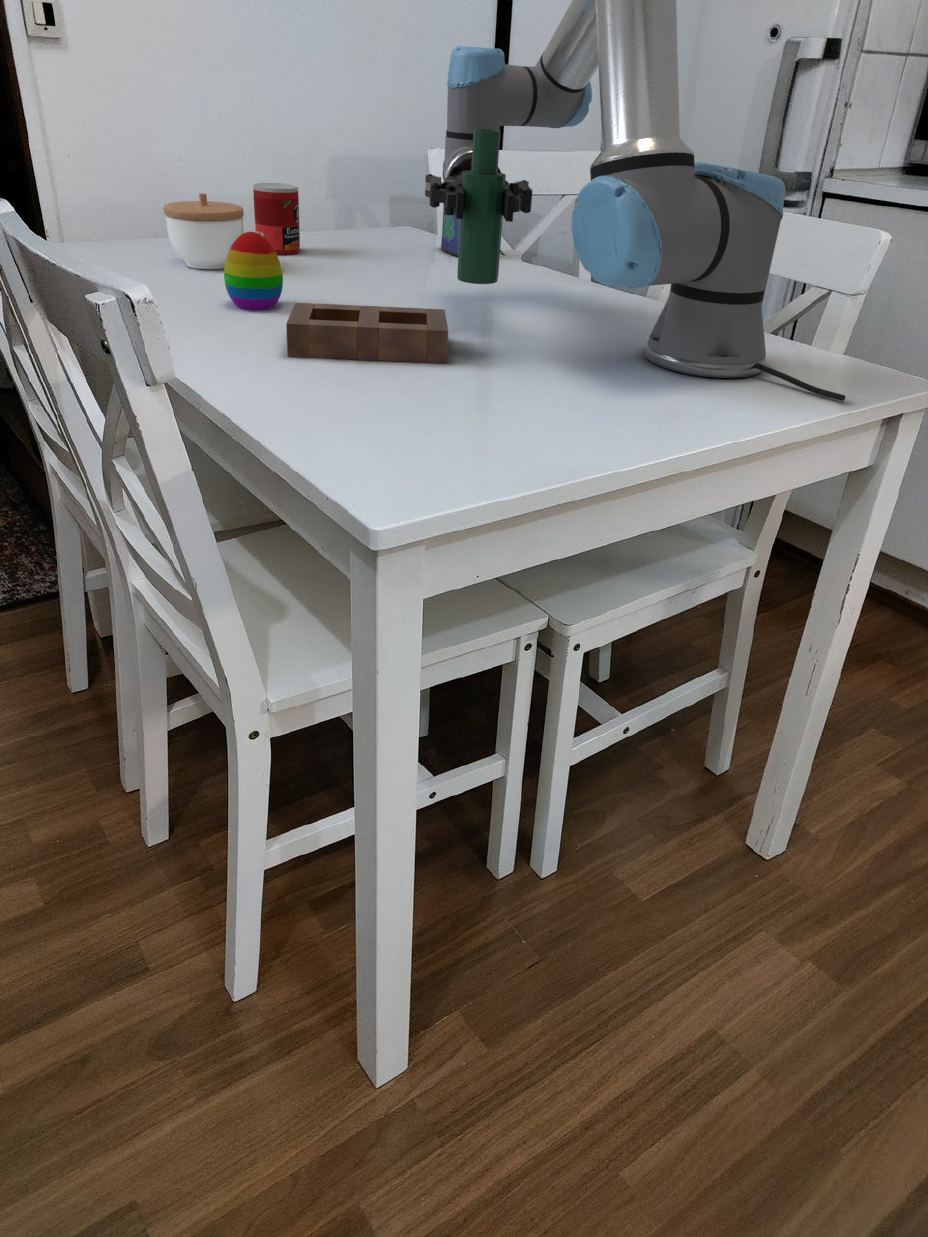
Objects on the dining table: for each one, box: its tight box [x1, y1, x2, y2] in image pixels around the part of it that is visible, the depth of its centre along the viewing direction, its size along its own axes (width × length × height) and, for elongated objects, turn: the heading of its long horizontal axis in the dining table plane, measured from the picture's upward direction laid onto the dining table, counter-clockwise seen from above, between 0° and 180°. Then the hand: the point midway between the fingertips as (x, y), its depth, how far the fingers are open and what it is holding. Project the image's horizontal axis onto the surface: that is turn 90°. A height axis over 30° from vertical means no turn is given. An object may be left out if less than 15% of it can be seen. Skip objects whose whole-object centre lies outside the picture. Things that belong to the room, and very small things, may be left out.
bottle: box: [456, 129, 507, 285], centre depth 111 cm, size 5×5×16 cm
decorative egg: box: [223, 231, 284, 311], centre depth 132 cm, size 8×8×10 cm
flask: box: [440, 203, 460, 257], centre depth 177 cm, size 9×3×11 cm, turn 25°
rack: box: [285, 302, 449, 364], centre depth 118 cm, size 20×11×4 cm, turn 93°
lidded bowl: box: [163, 192, 245, 270], centre depth 154 cm, size 13×13×11 cm
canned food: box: [252, 182, 301, 256], centre depth 168 cm, size 8×8×11 cm
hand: (485, 207), depth 106 cm, fingers closed on bottle, 5 cm apart
